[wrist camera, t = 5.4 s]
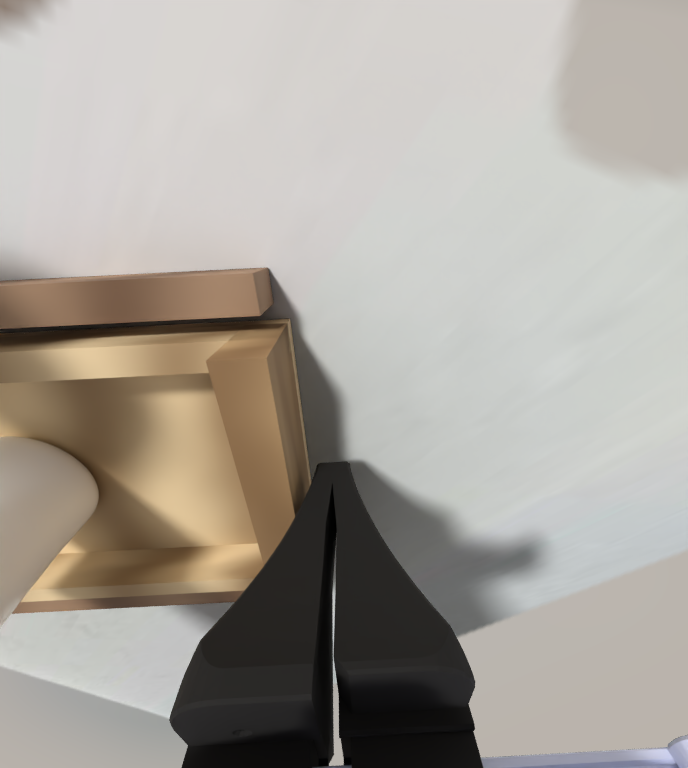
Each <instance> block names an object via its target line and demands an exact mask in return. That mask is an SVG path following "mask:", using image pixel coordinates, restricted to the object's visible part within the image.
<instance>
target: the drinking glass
mask: <svg viewBox="0 0 688 768" xmlns="http://www.w3.org/2000/svg"><path fill="white" fill-rule="evenodd" d="M98 501H99V490H98V486H97V483H96V481H95V479H94V477H93V476H92V474H91V473H90V471H89V470H88V469H87V468H86V467H85V466H84V465H83V464H82V463H81V462H80V461H79V460H77V459H76V458H75V457H73V456H72V455H70V454H69V453H67V452H65V451H64V450H62V449H60V448H58V447H56V446H53V445H51V444H48V443H45V442H43V441H39V440H35V439H31V438H25V437H16V436H3V437H0V628H1V626H2V625H3V624H4V623H5V621H6V620H7V619H8V617H9V616H10V615H11V614H12V612H13V611H14V610H15V608H16V607H17V606H18V605H19V603H20V602H21V601H22V600H23V598H24V597H25V596H26V595H27V593H28V592H29V591H30V589H31V588H32V587H33V586H34V584H35V583H36V582H37V581H38V579H39V578H40V577H41V575H42V574H43V573H44V572H45V570H46V569H47V568H48V567H49V565H50V564H51V563H52V562H53V560H54V559H55V558H56V557H57V555H58V554H59V553H60V552H61V550H62V549H63V548H64V547H65V546H66V545H67V544H68V542H69V541H70V540H71V539H72V538H73V537H74V536H75V535H76V533H77V532H78V531H79V530H80V529H81V528H82V527H83V526H84V524H85V523H86V522H87V521H88V520H89V519H90V517H91V516H92V515H93V513H94V512H95V510H96V507H97V505H98Z"/></svg>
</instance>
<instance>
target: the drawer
mask: <svg viewBox="0 0 688 768" xmlns="http://www.w3.org/2000/svg"><path fill="white" fill-rule="evenodd" d="M3 436H16V437H25V438H31V439H35V440H39V441H43V442H45V443H48V444H51V445H53V446H56V447H58V448H60V449H62V450H64V451H65V452H67V453H69V454H70V455H72V456H73V457H75V458H76V459H77V460H79V461H80V462H81V463H82V464H83V465H84V466H85V467H86V468H87V469H88V470H89V471H90V473H91V474H92V476H93V477H94V479H95V481H96V483H97V486H98V490H99V501H98V505H97V507H96V510H95V512H94V513H93V515H92V516H91V517H90V519H89V520H88V521H87V522H86V523H85V524H84V526H83V527H82V528H81V529H80V530H79V531H78V532H77V533H76V535H75V536H74V537H73V538H72V539H71V540H70V541H69V542H68V544H67V545H66V546H65V547H64V548H63V549H62V550H61V552H60V553H59V554H58V555H57V557H56V558H55V559H54V560H53V562H52V563H51V564H50V565H49V567H48V568H47V569H46V570H45V572H44V573H43V574H42V575H41V577H40V578H39V579H38V581H37V582H36V583H35V584H34V586H33V587H32V588H31V589H30V591H29V592H28V593H27V595H26V596H25V597H24V598H23V600H22V601H21V602H35V601H54V600H73V599H92V598H111V597H130V596H149V595H168V594H187V593H206V592H225V591H244V590H245V589H246V588H247V587H248V586H249V584H250V583H251V582H252V581H253V579H254V578H255V577H256V576H257V574H258V573H259V572H260V570H261V569H262V568H263V566H264V565H265V564H266V562H267V561H268V559H269V558H270V556H271V555H272V554H273V552H274V551H275V549H276V548H277V546H278V545H279V543H280V542H281V540H282V538H283V537H284V535H285V534H286V532H287V530H288V529H289V527H290V525H291V523H292V522H293V520H294V518H295V516H296V514H297V512H298V510H299V509H300V507H301V505H302V503H303V500H304V498H305V496H306V494H307V492H308V490H309V487H310V485H311V475H310V467H309V459H308V452H307V444H306V436H305V429H304V421H303V413H302V406H301V398H300V390H299V383H298V375H297V367H296V360H295V352H294V345H293V337H292V329H291V322H290V319H276V320H257V321H237V322H217V323H197V324H177V325H157V326H137V327H117V328H97V329H77V330H58V331H38V332H18V333H0V437H3Z"/></svg>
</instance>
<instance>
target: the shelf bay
mask: <svg viewBox="0 0 688 768" xmlns="http://www.w3.org/2000/svg"><path fill="white" fill-rule="evenodd" d="M273 303H274V302H273V296H272V289H271V283H270V276H269V270H268V268H250V269H230V270H210V271H190V272H170V273H149V274H129V275H109V276H89V277H69V278H49V279H29V280H9V281H0V329H8V328H28V327H48V326H68V325H88V324H108V323H128V322H148V321H168V320H188V319H208V318H227V317H247V316H261V315H262V314H263V313H264V312H265V311H266V310H267V309H268V308H269V307H270V306H271V305H272V304H273ZM244 591H245V590H244ZM244 591H225V592H206V593H187V594H168V595H149V596H130V597H111V598H92V599H73V600H54V601H35V602H20V603H19V605H18V606H17V607H16V608H15V610H14V611H13V612H12V614H15V613H34V612H53V611H72V610H91V609H110V608H129V607H148V606H166V605H185V604H204V603H223V602H236V600H237V599H238V598H239V597H240V595H241V594H242V593H243V592H244Z"/></svg>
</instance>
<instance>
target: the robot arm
mask: <svg viewBox="0 0 688 768" xmlns="http://www.w3.org/2000/svg"><path fill="white" fill-rule="evenodd" d="M336 533H337V547H336V598H335V631H334V662H335V670H336V678H337V685H338V693H339V738H341V743H342V750H343V756H344V765H342V766H329V763H330V761H331V759H332V757H333V755H334V746H333V745H334V744H333V640H332V590H333V572H334V559H335V546H336ZM474 688H475V680H474V676H473V673H472V671H471V668H470V665H469V663H468V661H467V658H466V656H465V654H464V651H463V649H462V648H461V645H460V643H459V641H458V639H457V638H456V636H455V634H454V632H453V630H452V628H451V626H450V625H449V624H448V623H447V622H446V620H445V619H444V618H443V617H442V616H441V615H440V614H439V613H438V611H437V610H436V609H435V608H434V607H433V606H432V604H431V603H430V602H429V601H428V600H427V599H426V597H425V596H424V595H423V594H422V593H421V591H420V590H419V589H418V588H417V586H416V585H415V584H414V583H413V581H412V580H411V579H410V577H409V576H408V575H407V573H406V572H405V571H404V569H403V568H402V566H401V565H400V564H399V562H398V561H397V560H396V558H395V557H394V555H393V554H392V552H391V551H390V549H389V548H388V546H387V545H386V543H385V542H384V540H383V538H382V537H381V535H380V534H379V532H378V530H377V528H376V527H375V525H374V523H373V521H372V519H371V518H370V516H369V514H368V512H367V510H366V508H365V506H364V504H363V501H362V499H361V497H360V495H359V493H358V490H357V488H356V485H355V482H354V479H353V476H352V473H351V469H350V464H349V463H348V462H332V463H319V464H318V465H317V468H316V471H315V474H314V477H313V480H312V482H311V485H310V487H309V490H308V492H307V494H306V496H305V498H304V500H303V503H302V505H301V507H300V509H299V510H298V512H297V514H296V516H295V518H294V520H293V522H292V523H291V525H290V527H289V529H288V530H287V532H286V534H285V535H284V537H283V538H282V540H281V542H280V543H279V545H278V546H277V548H276V549H275V551H274V552H273V554H272V555H271V556H270V558H269V559H268V561H267V562H266V564H265V565H264V566H263V568H262V569H261V570H260V572H259V573H258V574H257V576H256V577H255V578H254V579H253V581H252V582H251V583H250V584H249V586H248V587H247V588H246V589H245V591H244V592H243V593H242V594H241V595H240V597H239V598H238V599H237V600H236V602H235V603H234V604H233V605H232V606H231V607H230V609H229V610H228V611H227V612H226V613H225V614H224V615H223V616H222V617H221V618H220V619H219V621H218V622H217V623H216V624H215V625H214V626H213V627H212V628H211V629H210V630H209V632H208V633H207V634H206V635H205V636H204V637H203V638H202V639H201V641H200V642H199V644H198V646H197V648H196V651H195V653H194V655H193V657H192V659H191V661H190V664H189V666H188V668H187V670H186V672H185V675H184V677H183V680H182V683H181V686H180V689H179V692H178V694H177V697H176V700H175V703H174V706H173V709H172V712H171V715H170V719H169V720H170V723H171V726H172V727H173V729H174V731H175V732H176V733H177V734H178V735H179V736H180V737H181V738H182V739H183V740H184V741H185V743H187V745H188V748H187V751H186V754H185V758H184V761H183V765H182V768H688V735H685V736H681V737H678V738H676V739H674V740H673V741H671V742H670V743H669V744H668V747H665V748H648V749H628V750H611V751H593V752H575V753H557V754H539V755H521V756H503V757H486V758H481V757H480V754H479V750H478V747H477V743H476V740H475V736H474V732H473V731H474V730H475V727H474V722H473V718H472V715H471V711H470V708H469V704H468V703H469V701H470V698H471V696H472V693H473V691H474Z"/></svg>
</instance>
